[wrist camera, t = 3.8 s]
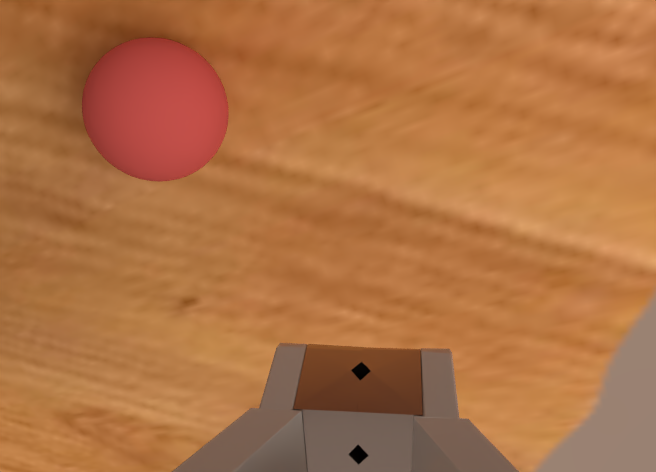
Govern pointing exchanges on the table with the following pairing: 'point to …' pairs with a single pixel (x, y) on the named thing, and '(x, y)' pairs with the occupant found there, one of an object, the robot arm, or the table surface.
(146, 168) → the ball
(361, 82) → the table surface
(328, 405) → the robot arm
